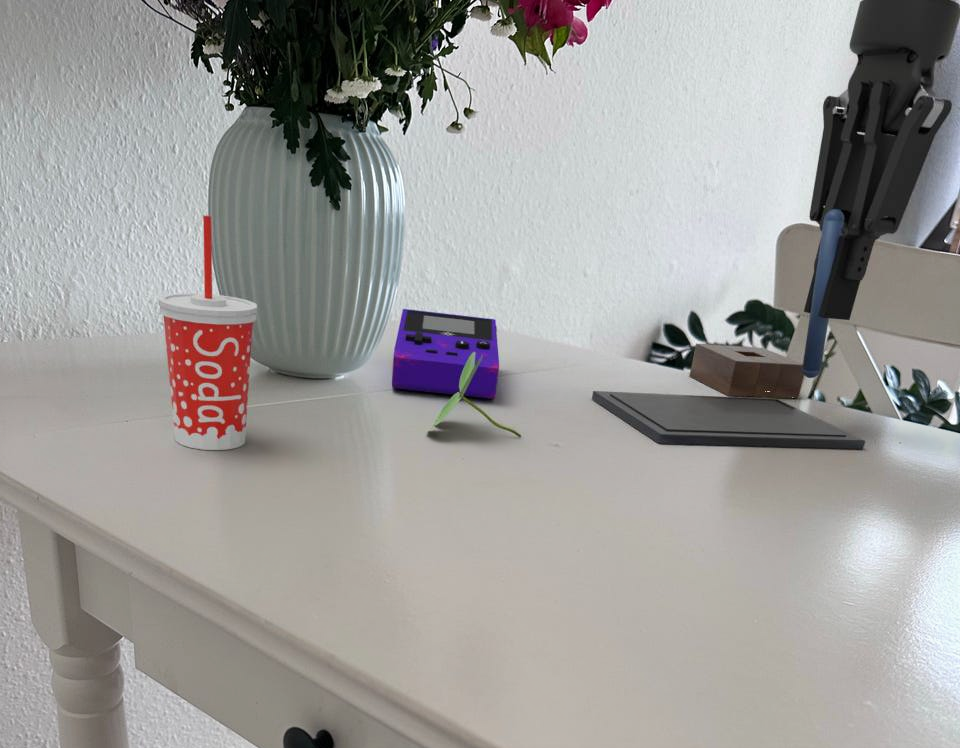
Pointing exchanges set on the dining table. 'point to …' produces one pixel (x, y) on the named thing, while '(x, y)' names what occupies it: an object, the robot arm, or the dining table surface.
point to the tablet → (724, 421)
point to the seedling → (463, 385)
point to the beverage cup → (208, 362)
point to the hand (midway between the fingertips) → (826, 315)
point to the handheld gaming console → (445, 353)
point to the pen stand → (747, 371)
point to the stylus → (821, 293)
